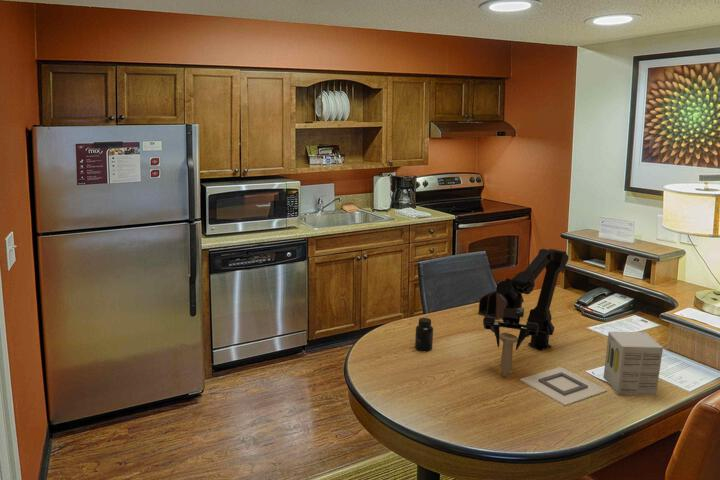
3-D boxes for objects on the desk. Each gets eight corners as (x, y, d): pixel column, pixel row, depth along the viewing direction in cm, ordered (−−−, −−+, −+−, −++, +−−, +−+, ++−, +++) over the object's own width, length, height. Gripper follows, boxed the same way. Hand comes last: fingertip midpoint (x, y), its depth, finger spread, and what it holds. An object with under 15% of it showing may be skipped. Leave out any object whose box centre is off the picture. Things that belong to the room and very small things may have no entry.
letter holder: (521, 310, 273) (523, 281, 269) (496, 320, 260) (498, 290, 256) (503, 304, 280) (505, 276, 276) (477, 314, 267) (479, 285, 263)
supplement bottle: (412, 350, 228) (413, 321, 225) (417, 343, 234) (418, 315, 231) (429, 353, 225) (431, 324, 223) (434, 346, 232) (435, 318, 229)
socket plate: (560, 368, 214) (560, 364, 213) (606, 391, 197) (607, 388, 197) (519, 380, 204) (520, 376, 204) (564, 406, 187) (565, 402, 187)
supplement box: (602, 376, 207) (607, 330, 203) (639, 377, 207) (646, 331, 203) (617, 395, 195) (623, 346, 190) (657, 396, 194) (664, 347, 190)
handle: (508, 381, 204) (511, 341, 200) (494, 374, 208) (496, 335, 205) (517, 377, 206) (520, 337, 203) (502, 370, 211) (505, 331, 208)
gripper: (485, 294, 208) (478, 335, 200) (540, 301, 201) (535, 343, 194) (487, 308, 217) (480, 347, 209) (539, 315, 210) (535, 355, 203)
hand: (507, 348), depth 204 cm, fingers closed on handle, 6 cm apart
